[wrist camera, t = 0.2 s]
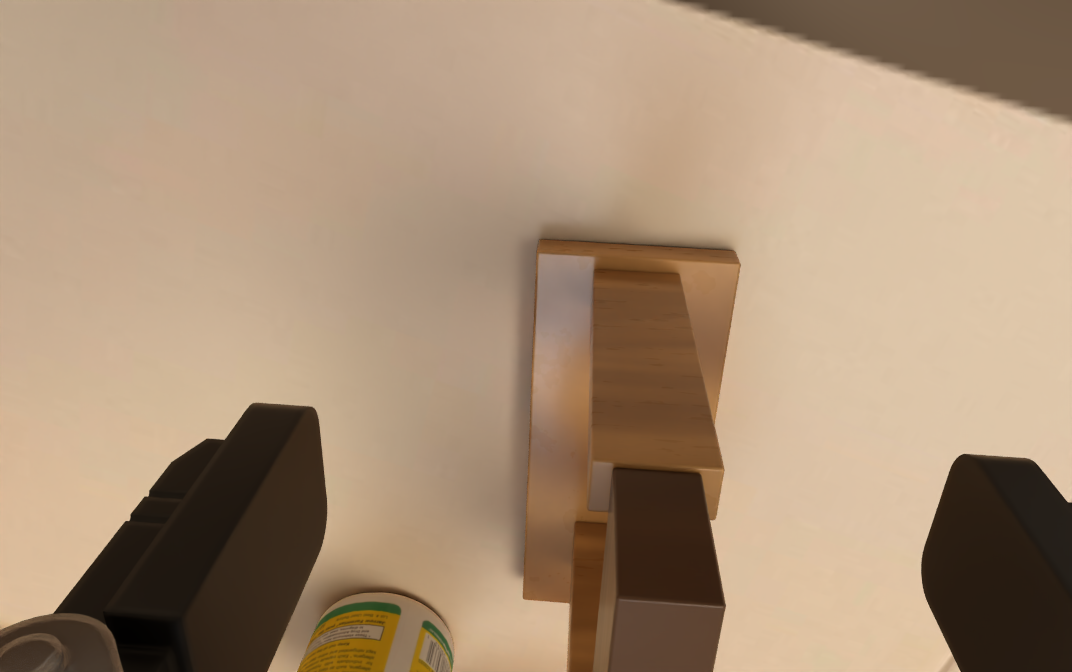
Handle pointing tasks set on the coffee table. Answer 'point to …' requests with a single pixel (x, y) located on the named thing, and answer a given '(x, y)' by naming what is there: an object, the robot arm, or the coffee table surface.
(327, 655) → the supplement bottle
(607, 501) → the wooden two-post stand
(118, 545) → the robot arm
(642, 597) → the ladle
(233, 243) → the coffee table surface
